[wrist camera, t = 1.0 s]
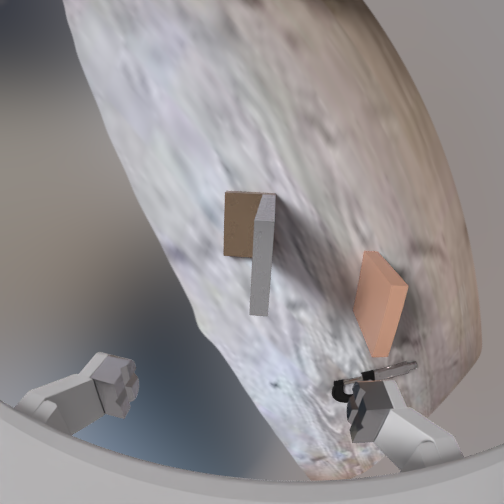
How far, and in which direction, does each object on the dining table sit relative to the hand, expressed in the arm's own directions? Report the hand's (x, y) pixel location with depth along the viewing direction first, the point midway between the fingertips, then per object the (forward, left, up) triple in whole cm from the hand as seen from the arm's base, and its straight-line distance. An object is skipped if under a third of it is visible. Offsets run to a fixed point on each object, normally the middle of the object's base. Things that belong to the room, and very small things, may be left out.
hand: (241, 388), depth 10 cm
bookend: (+1, -2, -30) cm, 30 cm away
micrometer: (+27, +20, -30) cm, 45 cm away
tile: (+8, +14, -30) cm, 34 cm away
